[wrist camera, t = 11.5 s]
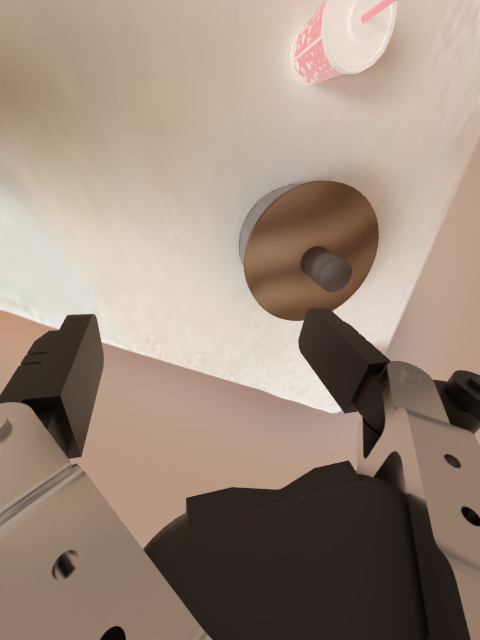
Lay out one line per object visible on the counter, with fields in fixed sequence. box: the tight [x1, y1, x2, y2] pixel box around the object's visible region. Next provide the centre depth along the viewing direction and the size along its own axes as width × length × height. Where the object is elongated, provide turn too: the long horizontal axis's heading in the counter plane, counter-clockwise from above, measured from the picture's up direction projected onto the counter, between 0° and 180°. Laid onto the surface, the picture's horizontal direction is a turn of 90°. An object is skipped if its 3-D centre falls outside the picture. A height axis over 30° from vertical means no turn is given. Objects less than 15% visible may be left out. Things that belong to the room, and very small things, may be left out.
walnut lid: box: [244, 181, 379, 321], centre depth 30 cm, size 17×17×6 cm
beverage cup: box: [290, 0, 397, 85], centre depth 22 cm, size 6×6×14 cm
